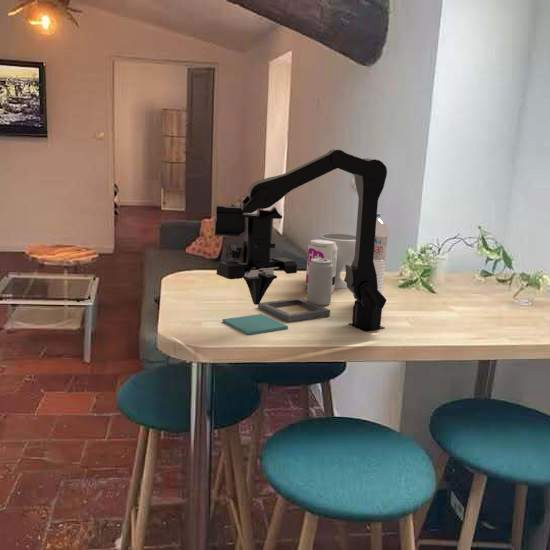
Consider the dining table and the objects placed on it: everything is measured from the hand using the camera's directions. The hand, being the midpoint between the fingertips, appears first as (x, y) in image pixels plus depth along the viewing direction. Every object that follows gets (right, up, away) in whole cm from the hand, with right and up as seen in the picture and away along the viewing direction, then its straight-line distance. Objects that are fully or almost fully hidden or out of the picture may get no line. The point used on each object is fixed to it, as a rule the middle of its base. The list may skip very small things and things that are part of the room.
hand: (256, 304), depth 144 cm
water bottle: (+30, -2, +24) cm, 38 cm away
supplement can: (+17, +1, +35) cm, 39 cm away
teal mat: (0, -5, +1) cm, 5 cm away
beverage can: (+16, -1, +23) cm, 28 cm away
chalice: (+23, +3, +46) cm, 51 cm away
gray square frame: (+9, -3, +14) cm, 17 cm away
